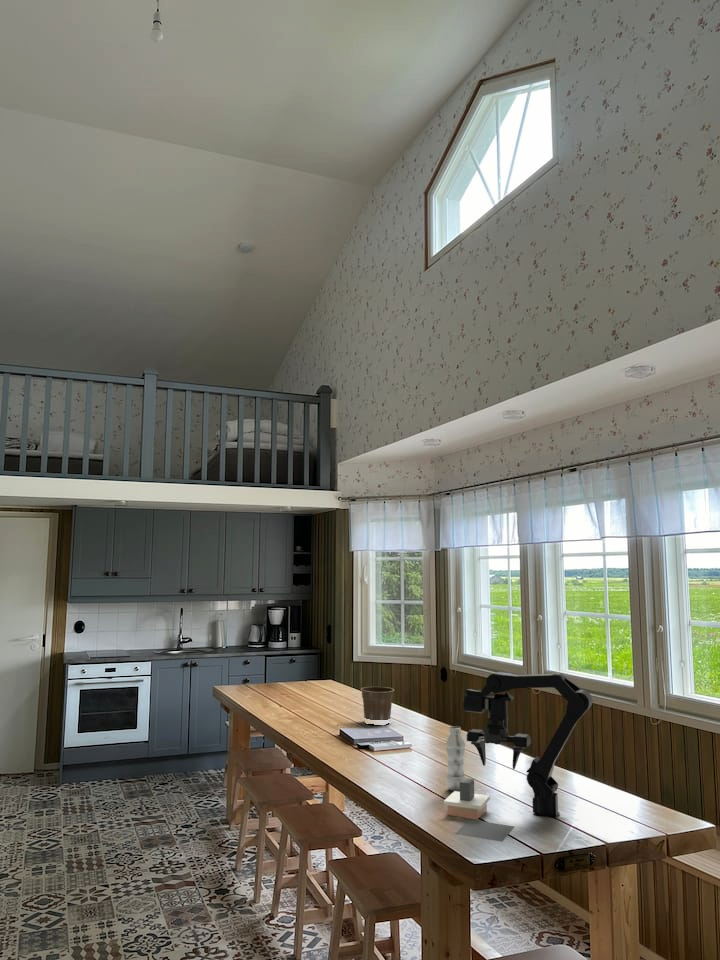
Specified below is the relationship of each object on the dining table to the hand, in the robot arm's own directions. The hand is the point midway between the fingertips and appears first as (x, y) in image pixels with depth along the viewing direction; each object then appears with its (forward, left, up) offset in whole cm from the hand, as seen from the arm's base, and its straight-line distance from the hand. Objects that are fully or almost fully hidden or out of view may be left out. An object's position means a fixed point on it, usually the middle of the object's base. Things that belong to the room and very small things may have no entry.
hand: (498, 767), depth 221 cm
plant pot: (+87, -100, -12) cm, 133 cm away
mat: (-2, +22, -12) cm, 25 cm away
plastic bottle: (+18, -12, -12) cm, 25 cm away
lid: (+7, +10, -8) cm, 15 cm away
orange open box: (+7, +10, -12) cm, 17 cm away
